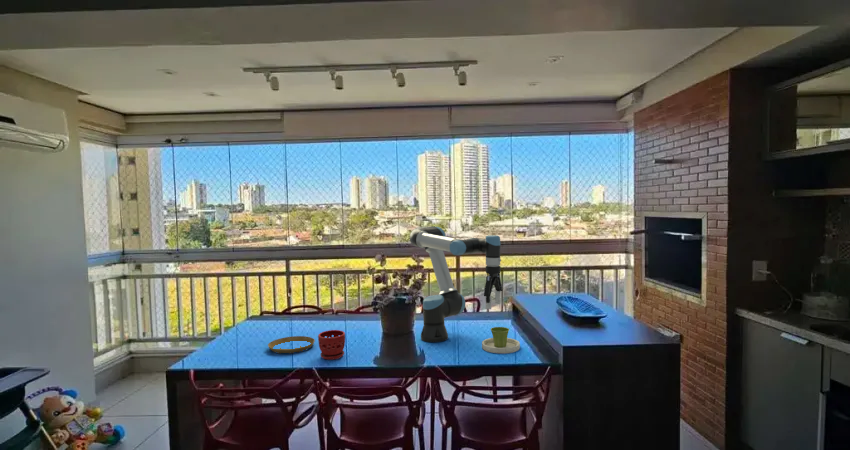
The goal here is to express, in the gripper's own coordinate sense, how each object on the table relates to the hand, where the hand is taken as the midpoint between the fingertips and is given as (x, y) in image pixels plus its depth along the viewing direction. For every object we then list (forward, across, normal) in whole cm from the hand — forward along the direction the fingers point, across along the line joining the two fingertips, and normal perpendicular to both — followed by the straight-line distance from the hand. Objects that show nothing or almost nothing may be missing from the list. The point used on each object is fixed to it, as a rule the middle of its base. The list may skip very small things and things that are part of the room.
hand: (493, 306), depth 229 cm
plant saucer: (+23, -46, +97) cm, 110 cm away
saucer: (+20, -2, -5) cm, 21 cm away
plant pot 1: (+22, -49, +66) cm, 85 cm away
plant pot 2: (+20, -2, -4) cm, 21 cm away
